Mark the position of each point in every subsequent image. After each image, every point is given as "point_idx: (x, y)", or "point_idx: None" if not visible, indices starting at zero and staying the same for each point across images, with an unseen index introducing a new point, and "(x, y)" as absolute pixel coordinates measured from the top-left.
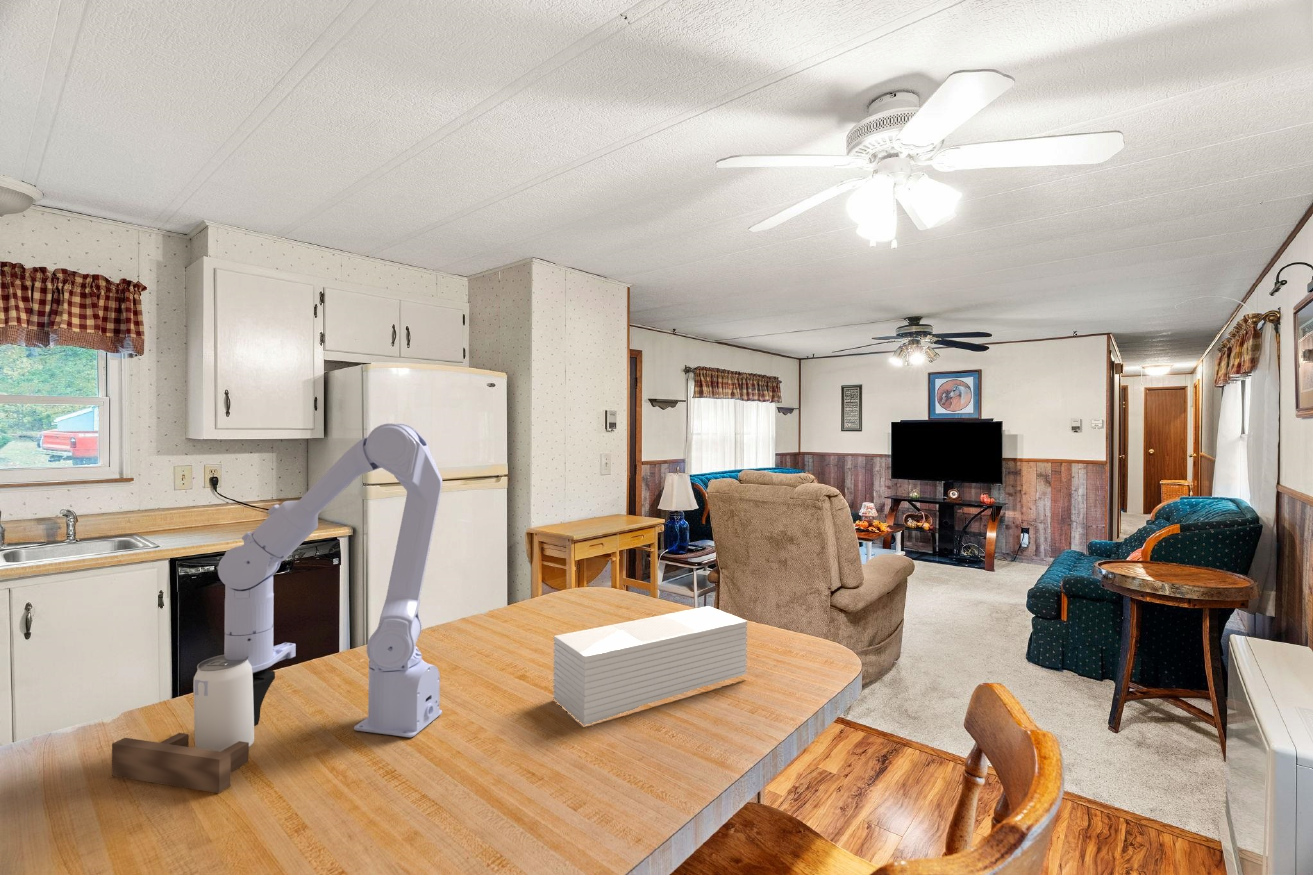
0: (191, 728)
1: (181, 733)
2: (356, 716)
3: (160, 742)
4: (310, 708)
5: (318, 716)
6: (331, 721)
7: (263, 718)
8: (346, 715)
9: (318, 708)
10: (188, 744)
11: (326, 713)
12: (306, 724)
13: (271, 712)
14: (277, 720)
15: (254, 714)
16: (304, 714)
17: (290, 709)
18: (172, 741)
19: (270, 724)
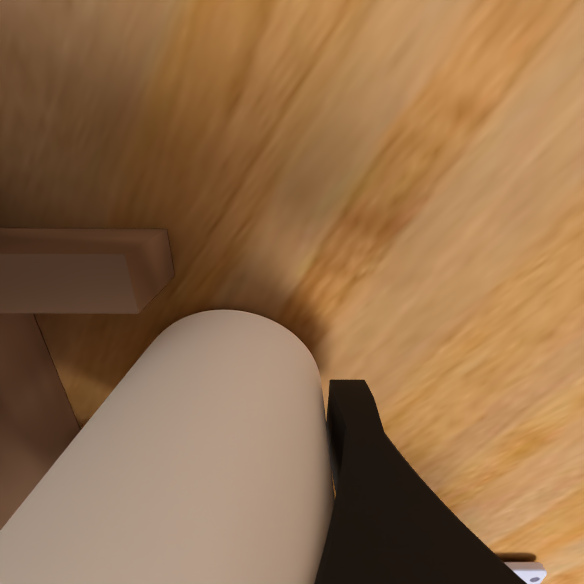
0: (365, 50)
1: (125, 273)
2: (487, 529)
3: (8, 258)
4: (562, 408)
5: (492, 460)
6: (456, 501)
7: (483, 317)
8: (495, 510)
9: (558, 429)
10: (161, 289)
11: (513, 466)
12: (435, 462)
13: (542, 306)
14: (464, 374)
15: (335, 488)
16: (511, 419)
17: (563, 354)
18: (52, 307)
19: (431, 374)
